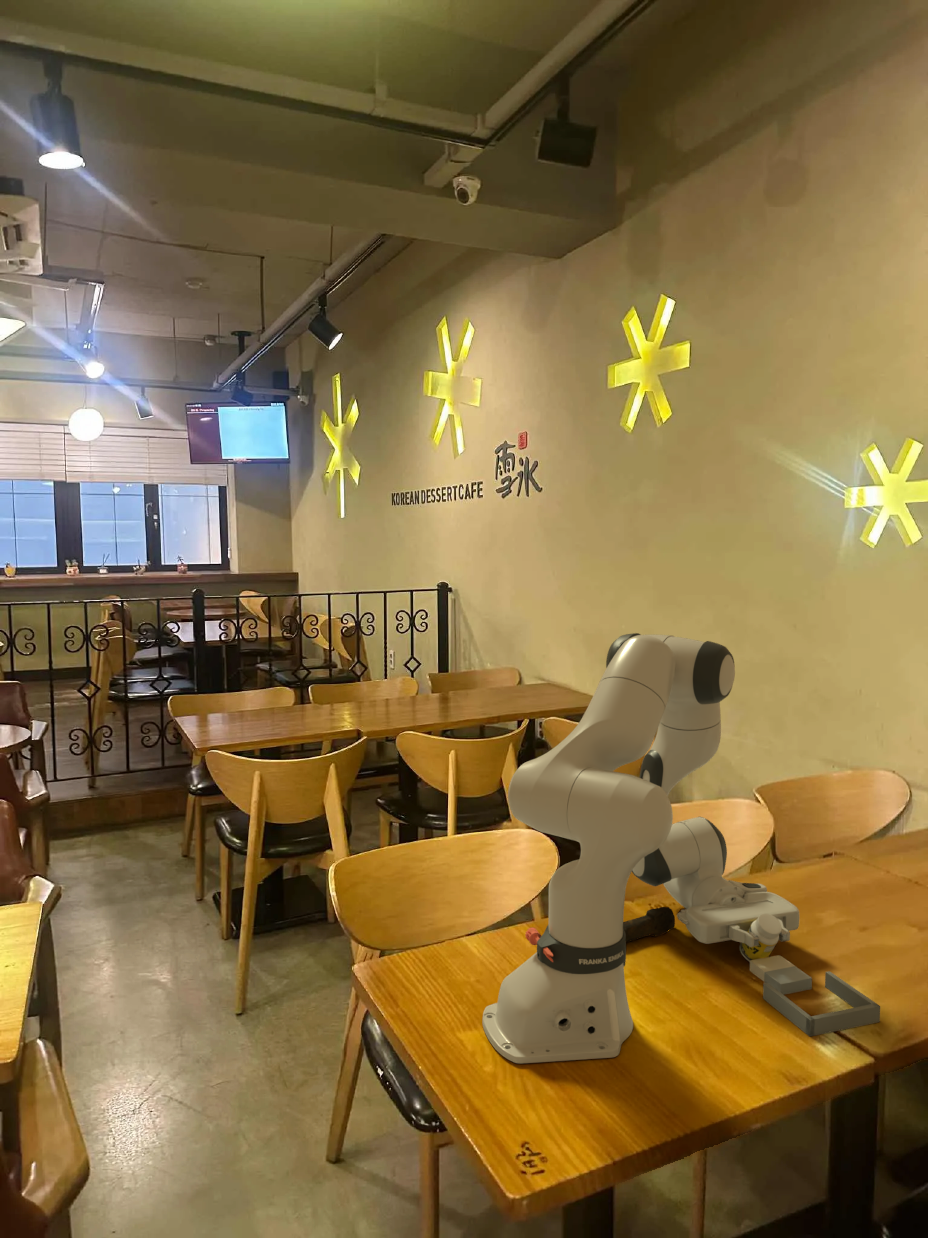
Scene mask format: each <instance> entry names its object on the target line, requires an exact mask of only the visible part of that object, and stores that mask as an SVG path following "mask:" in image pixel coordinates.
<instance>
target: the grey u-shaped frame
mask: <svg viewBox="0 0 928 1238" xmlns="http://www.w3.org/2000/svg"><path fill="white" fill-rule="evenodd" d="M824 974H825V975H824V976H825V977H824V982H825V983H824V988H826V989H827V990H829V991H830V992H831V993H833V994H834V995H836V997H838V998H840V999H842V1000H843V1001H844V1002H846V1003H847V1004H849V1005H850V1006H851V1007H852V1008H847V1009H841V1010H836V1011H831V1012H827V1013H825V1012H824V1013H820V1014H817V1015H812V1016H811V1015H810V1014H809V1013H808V1012H806V1011H805V1010H803V1009H802V1008H801V1007H800V1006H798V1005H797V1004H796V1003H794V1002H793V1001H792V1000H790V998H788V997H787V996H786V995H785V994H784V995H783V994H782V993H780V992H779V991H778V990H777V989H775V988H774V987H773V986H772V985H770V984H769V983H764V982H763V984H762V985H763V987H762V999H763V1000H764V1001H766V1002H767V1003H768V1004H769V1005H770V1006H772V1008H774V1009H775V1010H776V1011H778V1012H779V1013H780V1014H782V1015H783V1016H784V1017H785V1018H786V1019H787V1020H788V1021H790V1022H791V1023H792V1024H793V1025H794V1026H796V1027H797V1028H799V1029H800V1031H802V1032H803V1033H805V1034H806V1035H807V1036H808V1037H814V1036H819V1035H823V1034H828V1033H833V1032H837V1031H838V1032H839V1031H842V1030H848V1029H852V1028H856V1027H862V1026H867V1025H871V1024H877V1023H880V1022H881V1021H880V1020H881V1005H879V1004H878V1003H877V1002H875V1001H874V1000H873V999H870V998H869V997H867V996H866V995H865V994H863V993H862V992H860V990H858V989H856V988H854V987H853V986H851V985H850V984H849V983H847V982H846V981H844V980H843V979H842V978H840V977H838V975H836V974H834V973H833V972H831V971H830V970H829V971H825V973H824Z"/></svg>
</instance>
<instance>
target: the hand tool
mask: <svg viewBox="0 0 928 1238" xmlns="http://www.w3.org/2000/svg"><path fill="white" fill-rule="evenodd" d="M645 913H646V914H645V915H642V916H639V917H637V918H632V919H629V920H626V921H623V929H624V931H625V934H626V943H628V942H631V941H634V940H637V939H642V938H644V937H648V936H651V937H655V938H656V937H659V936H661V935H665V934H667V933H668V932H669V931H671V930H673V929H674V928H675V927H676V920H675V919H676V918H675V914H674V911H673V909H672V908H670V907H669V906H660V907H656V908H650V909H648V910H647V911H646V912H645ZM668 930H669V931H668ZM667 931H668V932H667Z"/></svg>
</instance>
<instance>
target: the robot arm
mask: <svg viewBox="0 0 928 1238" xmlns="http://www.w3.org/2000/svg"><path fill="white" fill-rule="evenodd" d="M606 654H607V655H606V659H605V660H606V662H605V671H604V672H603V674H602V676H601V678H600V681H599V683H598V685H597V687H596V689H595V691H594V693H593V695H592V698H591V700H590V702H589V704H588V706H587V707H586V710H585V711H584V713H583V715H582V718H581V719H580V721H578V723H577V725H576V726H575V728H574V729H573V730H572V731H571V732H570V733H569V734H568V735H567V736H566V737H565V738H564V739H563V740H561V741H560V742H559V743H558V744H557V745H556V746H554V747H553V748H552V749H549V751H547V752H546V753H544V754H542V755H540V756H537V757H536V758H533V759H530V760H528V761H526V762H524V763H522V764H520V766H519V767H518V768H517V769H516V770H515V772H514V773H513V774H512V777H511V779H510V782H509V786H508V789H507V790H508V791H507V792H508V793H507V799H508V801H507V802H508V806H509V809H510V811H511V814H512V816H513V817H514V818H515V819H516V820H517V821H519V822H521V823H522V824H525V825H527V826H528V827H530V828H533V829H534V830H536V831H538V832H540V833H544V834H548V835H552V836H556V837H560V838H564V839H567V840H571V841H575V842H578V843H579V845H580V856H579V859H575V860H572V861H570V862H568V863H565V864H563V865H562V866H560V867H559V868H557V869H556V870H555V872H554V873H553V875H552V876H551V878H550V880H549V884H548V925H547V926H546V928H545V930H544V931H543V934H541V933H540V932H539V931H538V930H537V928H535V927H529V928H528V929H527V930H526V931H525V934H524V935H525V939H526V940H527V941H528V942H529V943H530V945H532V946H536V952H534V954H533V955H531V956H530V957H528V959H527V960H526V961H524V962H523V963H522V964H520V965H519V966H518V967H517V968H515V969H514V970H513V971H512V972H510V974H508V975H507V976H505V977H504V978H503V980H502V982H501V984H500V987H499V991H498V997H497V1002H494V1003H492V1004H489V1005H486V1007H485V1008H484V1010H483V1013H482V1019H481V1020H482V1027H483V1031H484V1033H485V1035H486V1037H487V1040H488V1041H489V1042H490V1044H491V1045H492V1046H493V1048H494V1049H495V1050H496V1051H497V1053H499V1054H500V1055H501V1056H503V1058H505V1059H507V1060H508V1061H510V1062H513V1063H514V1064H536V1063H548V1062H549V1063H551V1062H565V1061H576V1060H578V1061H579V1060H591V1059H592V1060H593V1059H607V1058H610V1059H611V1058H615V1057H618V1056H619V1054H620V1051H621V1047H622V1044H623V1042H624V1041H626V1040H627V1039H628V1038H629V1036H630V1035H631V1034H632V1032H633V1029H634V1021H633V1018H632V1014H631V1011H630V1007H629V1002H628V994H627V988H626V981H625V966H626V962H627V942H626V934H625V931H624V929H623V922H624V915H625V914H624V912H625V911H624V910H625V908H624V907H625V898H626V897H625V896H626V889H627V885H628V884H627V883H628V881H629V878H630V875H631V874H633V875H634V876H635V877H636V878H638V880H640V881H642V882H644V883H645V884H647V885H650V886H651V887H658V886H660V885H663V886H664V888H665V889H666V891H667V892H668V893H669V895H670V896H671V897H672V898H673V899H674V900H675V901H676V902H677V903H679V904H680V906H682V907H683V908H684V909H682V910H680V911H679V912H678V913H677V914H676V917H677V919H678V921H680V922H681V923H682V924H684V925H685V927H686V930H688V933H690V934H691V936H693V938H694V939H696V940H697V942H699V943H702V944H706V945H710V944H714V943H721V942H725V941H734V942H739V943H740V944H741V943H745V944H747V945H748V946H749V947H754V946H758V945H759V942H758V941H759V937H758V936H757V935H755V933H753V932H747V931H748V929H749V928H750V926H751V924H752V923H753V922H754V921H755V920H757V919H758V917H759V916H760V915H761V914H770V915H772V916H774V917H776V918H777V919H778V920H779V922H780V923H781V926H782V930H781V932H780V934H779V940H778V941H779V942H781V943H782V942H789V941H790V939H791V934H790V931H795V930H798V929H799V926H800V910H799V908H798V907H797V906H796V905H795V904H794V903H791V902H790V901H789V900H788V899H786V898H784V897H782V896H780V895H778V894H776V893H774V892H771V891H768V888H767V886H766V885H764V884H762V883H752V882H740V881H735V880H732V879H729V880H728V879H726V878H724V877H723V875H724V873H725V869H726V864H727V857H728V856H727V855H728V849H727V842H726V840H725V837H724V835H723V833H722V832H721V830H720V829H719V828H718V827H717V826H716V825H715V824H714V823H712V821H710V820H709V819H708V818H705V817H703V816H696V817H691V818H688V819H685V820H680V821H677V822H675V823H673V819H674V818H673V817H674V815H673V808H672V803H671V801H670V798H669V794H670V792H671V791H672V789H674V787H675V786H676V785H678V783H679V782H681V781H682V780H683V779H684V778H686V777H687V776H689V775H690V774H692V773H693V772H695V771H697V770H698V769H700V768H702V767H703V766H705V765H706V764H707V763H709V762H710V760H712V759H713V757H714V756H715V755H716V754H717V752H718V749H719V748H720V747H719V746H720V743H721V738H722V736H721V735H722V722H721V719H722V716H721V702H722V701H723V700H724V699H726V698H727V697H728V696H729V695H730V693H731V691H732V688H733V685H734V683H735V675H736V667H735V659H734V656H733V654H732V653H731V652H730V650H729V649H728V647H727V646H725V645H722V644H720V643H717V642H713V641H711V640H706V641H700V640H696V639H692V638H687V637H681V636H680V637H679V636H674V635H669V634H641V633H637V632H635V633H633V632H632V633H626V634H623V635H622V634H621V635H620V636H618V637H617V638H615V640H614V641H613V642H612V643H611V645H610V647H609V648H608V651H607V653H606ZM641 758H643V759H642V761H641V766H640V772H639V776H636V775H633V774H630V773H629V774H628V773H623V772H620V771H619V772H618V771H615V770H617V769H618V768H620V767H622V766H625V765H628V764H630V763H633V762H637V760H640V759H641Z"/></svg>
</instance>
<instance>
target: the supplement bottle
mask: <svg viewBox="0 0 928 1238" xmlns="http://www.w3.org/2000/svg"><path fill="white" fill-rule="evenodd" d="M781 930H782V926H781V923H780V922H779V920H778V919H777V918H776V917H774V916H772V915H770V914H761V915H760V916H759V917H758V919H757V920H755V921H754V922H753V923H752V924H751V926H750V928H749V929H748V931H747V932H753V933H755V935H757V936H758V937H759V941H758V942H759V945H758V946H754V947H749V946H748V945H747V944H745V943H741V942H740V943H739V951H740V954H741V955H742V956H743V957H744V960H746V961H747V962H749V963H750V960H756V959H761V958H767V957H770V955H771V953H772V952H773V950H774V949H775V946H776V945H778V944H777V943H778V942H779V941H780V940H779V934H780V932H781Z"/></svg>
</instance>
